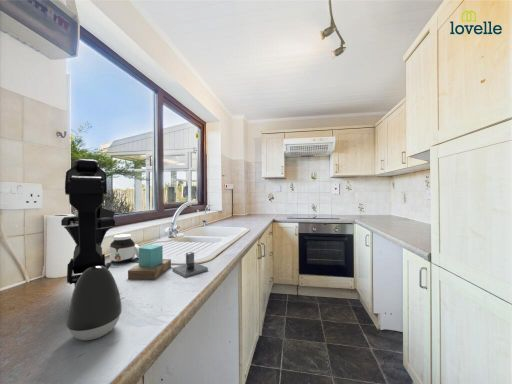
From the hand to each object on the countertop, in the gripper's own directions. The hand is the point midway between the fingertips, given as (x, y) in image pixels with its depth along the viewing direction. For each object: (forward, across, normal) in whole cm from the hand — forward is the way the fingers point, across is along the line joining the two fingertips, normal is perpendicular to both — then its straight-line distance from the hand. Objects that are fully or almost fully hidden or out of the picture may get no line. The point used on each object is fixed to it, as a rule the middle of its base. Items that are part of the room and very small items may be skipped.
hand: (88, 246), depth 78 cm
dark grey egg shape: (+13, -28, +18) cm, 36 cm away
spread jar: (+13, +12, -26) cm, 31 cm away
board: (+13, -11, -17) cm, 24 cm away
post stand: (+13, -24, -23) cm, 36 cm away
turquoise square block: (+10, -10, -17) cm, 22 cm away
